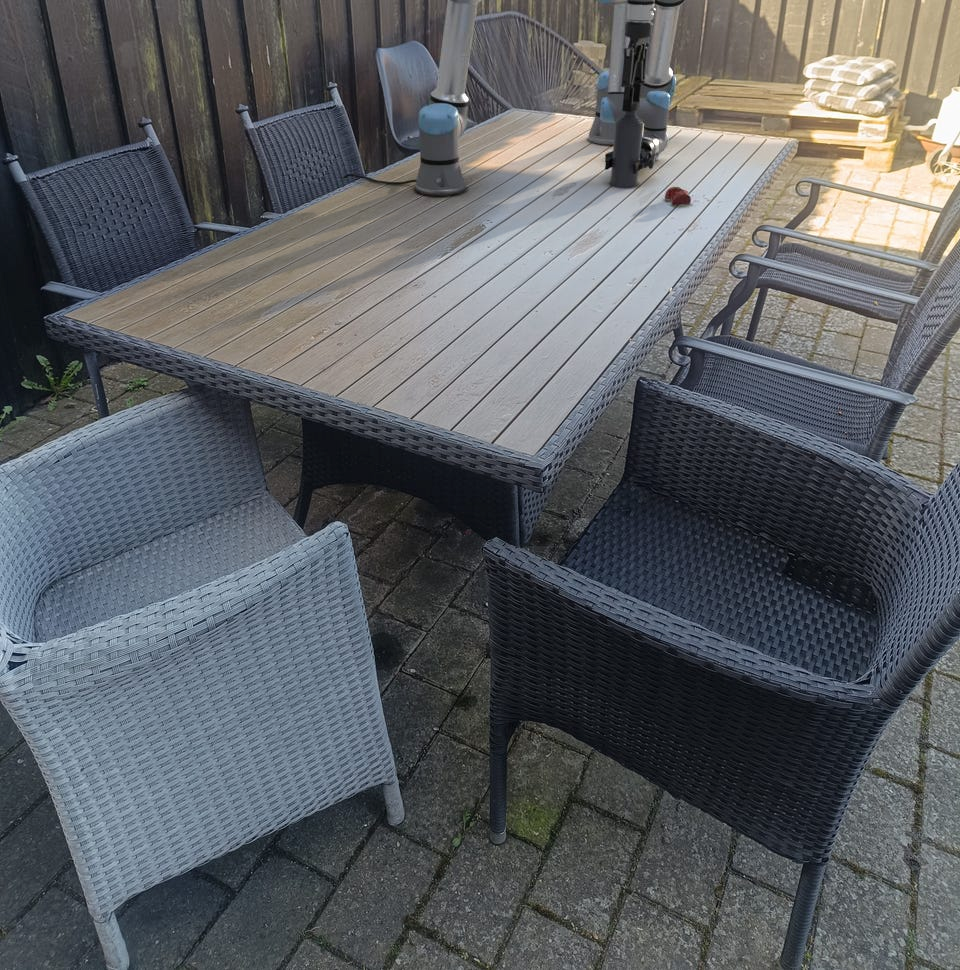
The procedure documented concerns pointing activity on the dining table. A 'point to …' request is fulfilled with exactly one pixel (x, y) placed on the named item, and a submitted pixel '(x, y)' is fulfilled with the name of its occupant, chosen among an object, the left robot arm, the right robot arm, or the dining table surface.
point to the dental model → (677, 196)
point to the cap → (635, 106)
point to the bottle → (626, 150)
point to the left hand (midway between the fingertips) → (630, 109)
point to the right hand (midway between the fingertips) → (620, 167)
